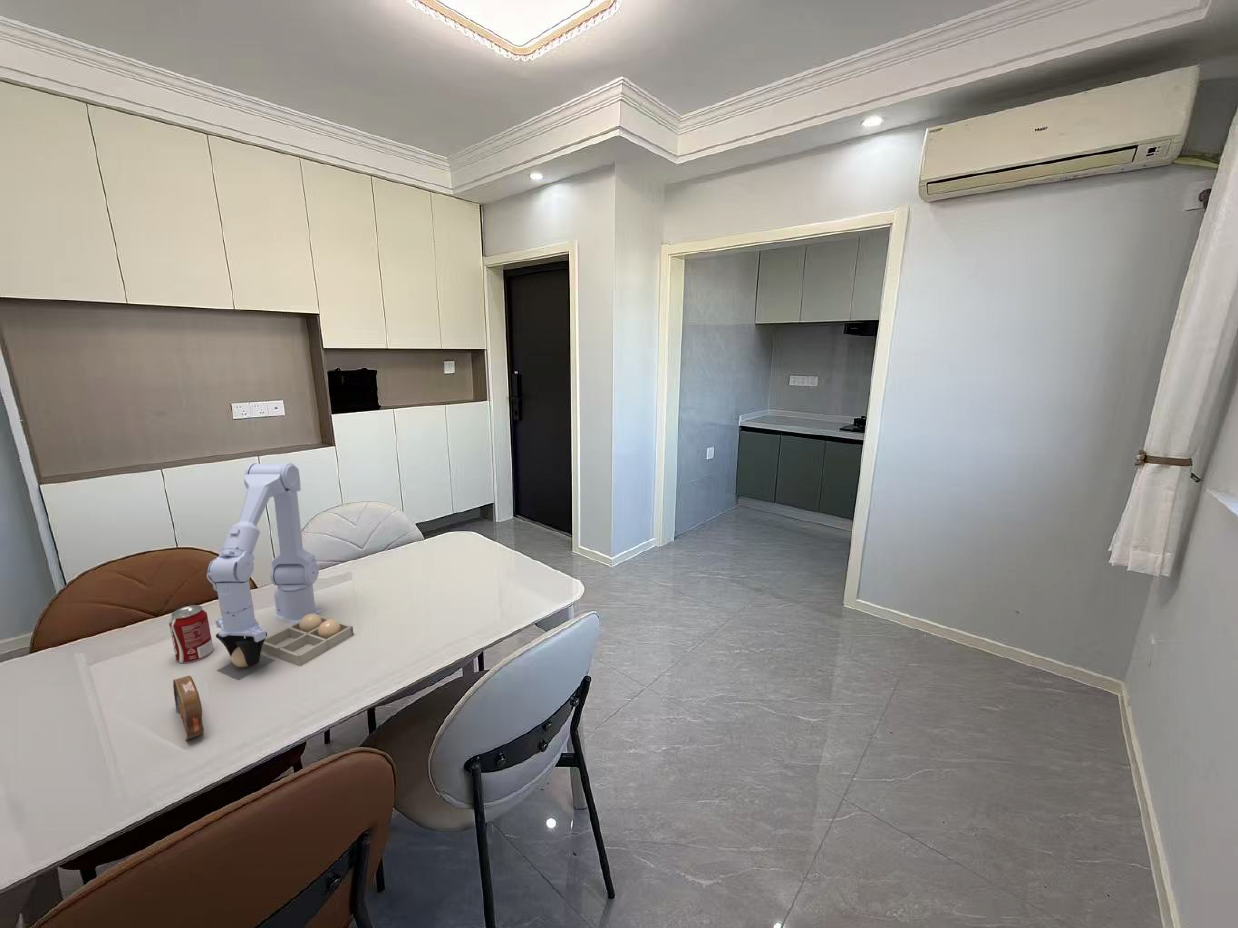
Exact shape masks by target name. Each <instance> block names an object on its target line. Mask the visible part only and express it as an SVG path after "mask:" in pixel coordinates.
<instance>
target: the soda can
mask: <svg viewBox="0 0 1238 928" xmlns="http://www.w3.org/2000/svg"><path fill="white" fill-rule="evenodd" d="M170 617H171V618H170V620H169V621H168V626H169V632H170V635H171V636H170V637H171V640H172V644H173V645H172V646H173V651H174V655H175V661H176V662H177V663H179V664H189V663H190V664H191V663H195V662H198V661H201V660H203V659H205V658H206V657H209V656H210V655H211V654H212V653H213V651H214V646H213V645H214V644H213V639H212V635H211V628H210V623H209V618H208V613H207V611H205V610H204V609H203V606H201V605H199V604H197V605H196V604H195V605H188V606H183V607H181V608H178V609H176V610H175V611H173V612H172V613H171V616H170Z"/></svg>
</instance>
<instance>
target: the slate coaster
mask: <svg viewBox="0 0 1238 928" xmlns="http://www.w3.org/2000/svg"><path fill="white" fill-rule="evenodd" d="M275 661H276V659H274V658H271V657H269V656H266V655H263V654H260V660H259V663H257V664H255V665H253V666H251V667H249V666H247V667H237V666H235V665H234V664H233V663H232V662H231V663H228V664H227V665H224V666H222V667H220V668H219V669H216V671H217V672H218V673H221V674H223V675H226V676H228V677H230V678H232V679H235V680H238V681H240V680H242V679H243V678H245V677H247V676H250V675H252V674H253V673H255V672H257V671H259V670H260V669H262V668H264V667H267V666H268V665H269V664H272V663H273V662H275Z"/></svg>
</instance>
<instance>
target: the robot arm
mask: <svg viewBox="0 0 1238 928" xmlns="http://www.w3.org/2000/svg"><path fill="white" fill-rule="evenodd" d="M244 471H245V472H244V477H243V482H244V485H245V488H246V489H247V490H246V493H245V497H244V501H243V505H242V508H241V512H240V515H239V519H238V522H237V523H235V524H234V525H232V526H230V527H229V530H228V532H227V535H226V537H225V539H224V542H223V544H222V547H221V549H220V553H219V555H218V556H217V557H216V558H214V559H212V561H210V562H209V565H208V567H207V574H206V578H207V580H208V581H209V582H210V583H211V584H212V587H213V591H216V592H217V597H218V602H219V608H220V613H221V617H219V618H216V619H215V625H216V628H218V629H221V630H220V631H219V632H217V633H216V634H215V638H216V639H218V640H219V641H220V642H221V643H222V644H223V646H224V647H225V649H226V650H227V653H228V654H229V656H230V657H231V656H232V653H233V651H234V650H235V649H236V648H237V647H239V648H240V649H241V651H242V653H243V655H244V658H245V661H246V663H247V665H248V666H249V667H251V666H253V665H255V664H257V663H259V660H260V654H261V653H262V651H261V649H262V645H263V643H264V641H265V639H266V638H267V637H268V632H266V630H265V629H264V628H262V627H261V625H260V623H259V622H258V620H257V619H256V616H255V615H256V614H255V610H254V603H253V597H252V592H251V586H250V578H251V577H252V576H253V575H252V574H253V573H254V567H255V566H254V559H255V555H253V553H254V551H255V547H256V546H257V545H256V544H257V542H258V539H259V537H260V534H261V532H260V530H259V528H258V523H259V521H260V520H261V517H262V515H263V513H264V510H265V509H266V506H267V505H268V503H269V501H270V498H272V497H273V499H274V500H273V501H274V510H275V511H274V512H275V517H276V519H275V520H276V527H277V528H276V529H277V537H278V546H279V554H278V555H276V557H274V558H273V559H272V561H271V570H270V581H271V583H272V584H273V585H274V586H276V588H275V591H274V594H273V596H274V597H273V598H274V602H275V604H274V605H275V611H276V613H275V614H274V615H273V617H275V618H278V619H282V620H285V621H287V622H290V623H293V624H295V623H297V622H299V621H301V619H302V618H303V617H304V616H306V615H308V614H317V615H318V614H319V613H322V612H324V609H323V608H319V607H316V601H315V593H314V592H315V591H314V584H315V582H316V581H317V579H318V577H319V574H320V571H319V570H320V569H319V565H318V564H317V560H316V555H315V554H313V553H312V552H310V551H308V550H306V549H304V545H303V537H302V535H303V534H302V528H301V518H300V508H299V499H298V497H299V496H298V492H300V491H301V478H300V469H299V468H298V467H297V466H296V465H295V464H294V463H292V462H288V463H257V462H252V463H250V464H249V465H247V467H246V469H245V470H244ZM261 655H262V654H261Z"/></svg>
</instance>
